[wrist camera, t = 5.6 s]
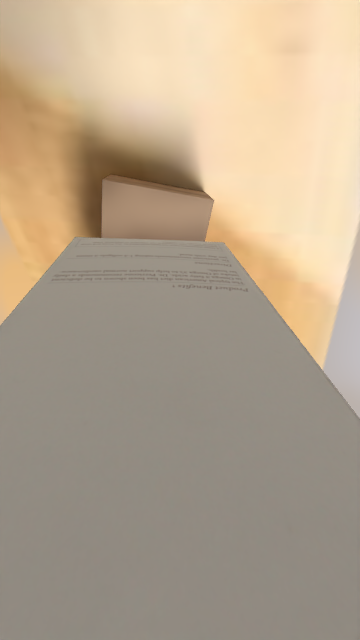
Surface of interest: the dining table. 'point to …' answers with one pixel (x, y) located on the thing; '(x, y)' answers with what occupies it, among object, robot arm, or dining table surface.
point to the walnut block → (153, 210)
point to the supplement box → (170, 457)
